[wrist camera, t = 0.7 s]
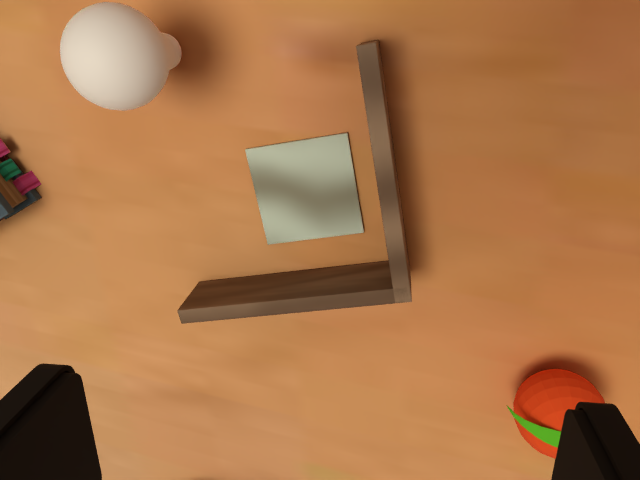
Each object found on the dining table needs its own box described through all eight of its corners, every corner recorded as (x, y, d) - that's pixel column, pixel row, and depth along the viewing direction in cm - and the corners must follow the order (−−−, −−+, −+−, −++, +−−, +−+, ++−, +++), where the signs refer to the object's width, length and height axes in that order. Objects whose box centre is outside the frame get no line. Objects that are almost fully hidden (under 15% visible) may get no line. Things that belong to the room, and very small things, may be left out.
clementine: (482, 402, 47) (496, 463, 40) (511, 339, 44) (531, 394, 38) (570, 426, 47) (598, 492, 40) (605, 364, 44) (641, 424, 37)
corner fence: (140, 85, 40) (107, 94, 36) (378, 39, 36) (375, 42, 32) (202, 293, 46) (181, 323, 42) (410, 271, 43) (411, 301, 38)
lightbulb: (197, 106, 40) (130, 134, 30) (122, 75, 40) (29, 94, 30) (219, 24, 38) (153, 26, 28) (139, -8, 37) (44, -18, 27)
